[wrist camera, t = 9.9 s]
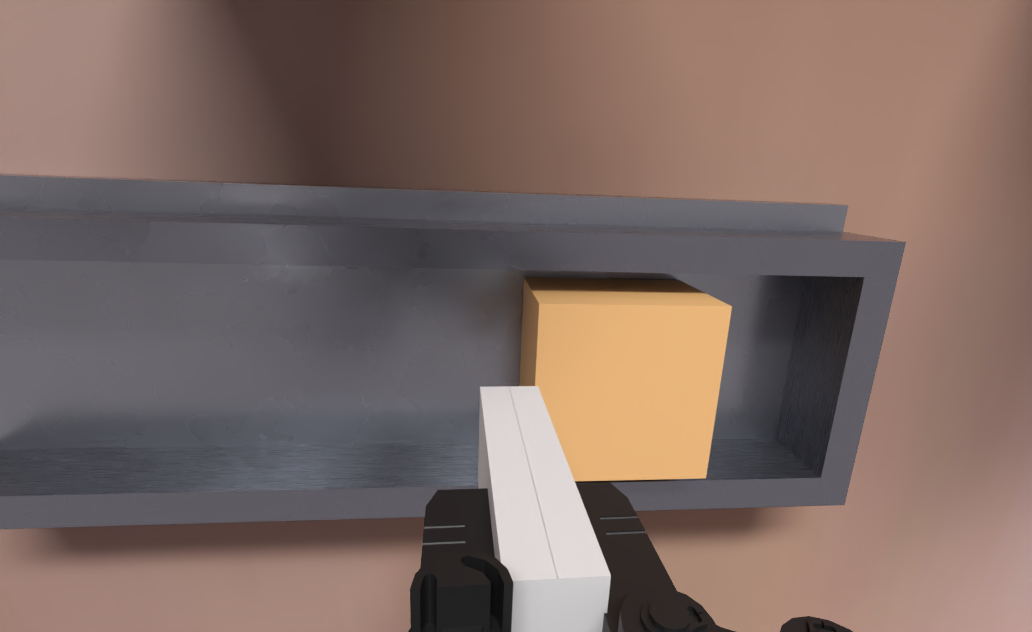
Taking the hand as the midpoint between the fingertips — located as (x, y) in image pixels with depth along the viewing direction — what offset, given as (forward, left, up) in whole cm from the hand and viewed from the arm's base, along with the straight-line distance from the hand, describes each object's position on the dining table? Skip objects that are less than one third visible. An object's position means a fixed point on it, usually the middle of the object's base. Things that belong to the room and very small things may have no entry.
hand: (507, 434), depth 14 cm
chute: (-3, 0, -8) cm, 8 cm away
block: (+4, 0, -7) cm, 8 cm away
